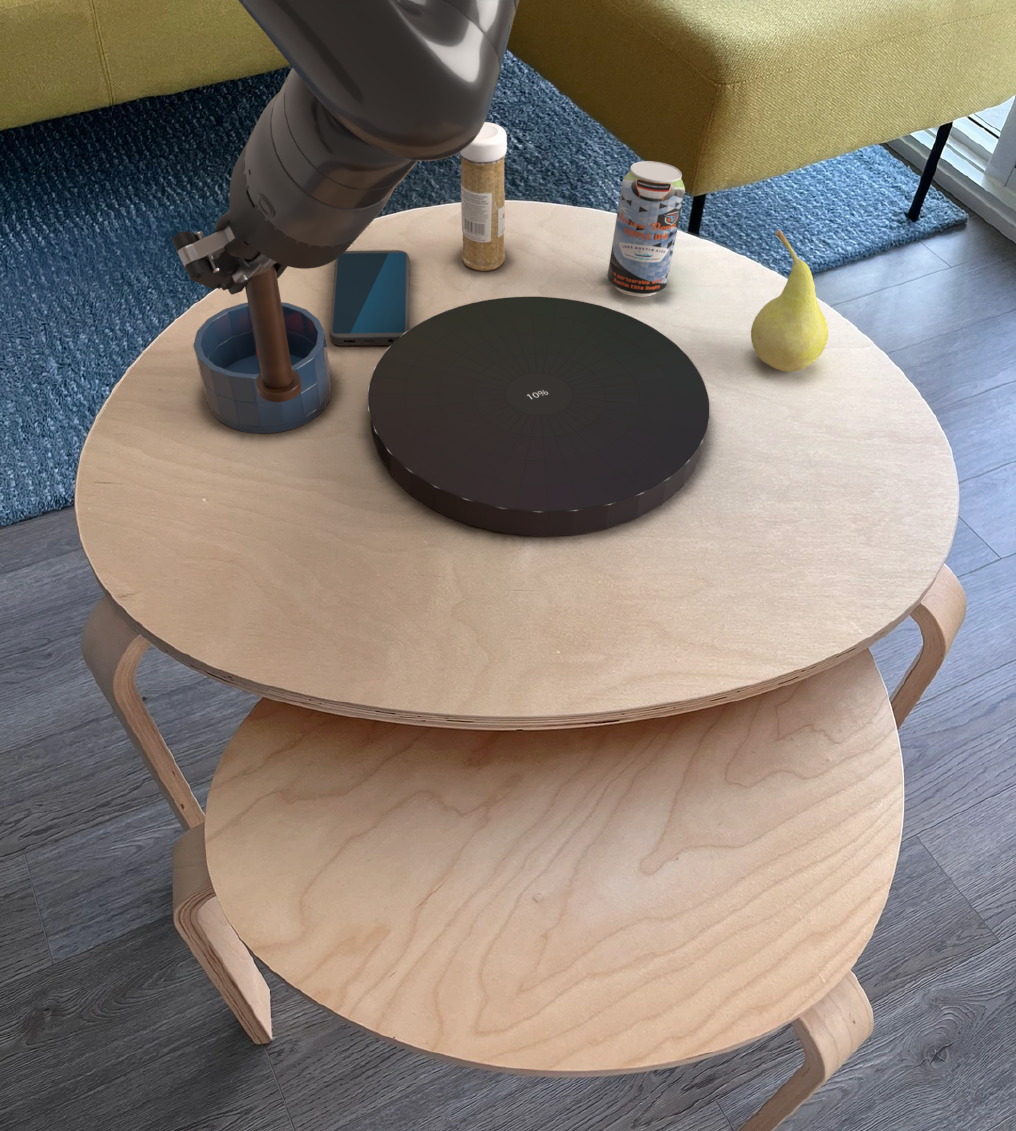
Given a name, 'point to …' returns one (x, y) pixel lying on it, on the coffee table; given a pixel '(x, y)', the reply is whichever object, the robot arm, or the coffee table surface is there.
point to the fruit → (791, 322)
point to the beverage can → (646, 228)
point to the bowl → (235, 369)
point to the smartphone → (370, 297)
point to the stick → (271, 339)
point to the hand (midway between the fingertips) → (246, 272)
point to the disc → (538, 415)
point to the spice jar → (484, 198)
